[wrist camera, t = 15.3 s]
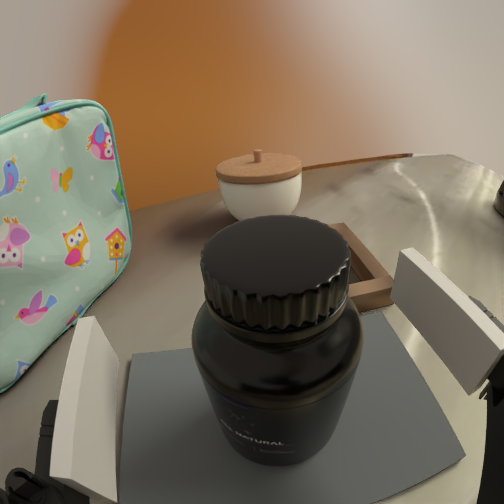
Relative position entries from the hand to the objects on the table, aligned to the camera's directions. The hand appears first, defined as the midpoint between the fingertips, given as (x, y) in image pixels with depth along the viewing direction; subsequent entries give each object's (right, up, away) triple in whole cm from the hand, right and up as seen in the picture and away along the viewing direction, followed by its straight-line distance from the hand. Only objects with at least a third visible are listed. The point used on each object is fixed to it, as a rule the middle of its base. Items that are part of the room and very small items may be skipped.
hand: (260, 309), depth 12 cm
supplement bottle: (+1, -8, +4) cm, 9 cm away
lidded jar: (+1, +7, +28) cm, 29 cm away
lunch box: (-21, -4, +15) cm, 26 cm away
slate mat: (+1, -8, +4) cm, 9 cm away
